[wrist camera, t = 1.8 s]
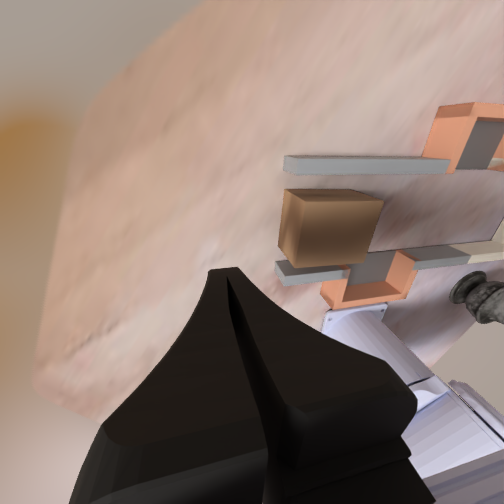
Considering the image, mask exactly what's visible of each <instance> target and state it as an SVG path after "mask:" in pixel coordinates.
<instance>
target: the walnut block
mask: <svg viewBox="0 0 504 504" xmlns="http://www.w3.org/2000/svg"><path fill="white" fill-rule="evenodd" d="M383 204H384V201H383V200H380V199H377V198H374V197H371V196H368V195H365V194H362V193H360V192H357V191H354V190H351V189H284V198H283V206H282V215H281V224H280V232H279V241H278V247H279V248H280V249H281V251H282V252H283V253H284V255H285V256H286V257H287V259H288V260H289V261H290V263H291V264H292V265H293V267H294V268H305V267H317V266H330V265H342V264H354V263H364V261H365V258H366V255H367V252H368V249H369V246H370V243H371V240H372V237H373V234H374V231H375V228H376V225H377V222H378V219H379V216H380V213H381V210H382V207H383Z"/></svg>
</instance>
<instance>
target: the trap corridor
mask: <svg viewBox="0 0 504 504" xmlns="http://www.w3.org/2000/svg"><path fill="white" fill-rule="evenodd" d="M455 169H488V170H497V171H504V104H491V103H478V102H473V103H464V104H456V105H448V106H440V107H439V109H438V112H437V114H436V117H435V120H434V123H433V126H432V129H431V131H430V134H429V137H428V140H427V143H426V146H425V148H424V151H423V154H422V157H368V156H284V166H283V170H284V171H287V172H289V173H292V174H294V175H362V174H453V173H454V171H455ZM503 259H504V219H503V221H502V222H501V224H500V226H499V227H498V229H497V231H496V233H495V234H494V236H493V238H492V239H491V241H483V242H473V243H462V244H452V245H442V246H431V247H421V248H411V249H400V250H390V251H380V252H369V253H367V255H366V258H365V261H364V263H354V264H342V265H330V266H317V267H305V268H294V267H293V265H292V264H291V263H290V261H289V260H287V261H276V262H275V272H276V274H277V275H278V277H279V279H280V281H281V282H282V284H283V286H291V285H299V284H307V283H315V282H323V283H322V287H321V292H320V294H321V296H322V297H323V298H324V299H325V301H326V302H327V303H328V305H329V306H330V307H331V308H332V310H335V309H341V308H348V307H354V306H361V305H367V304H374V303H380V302H387V301H393V300H400V299H406V297H407V294H408V292H409V290H410V288H411V285H412V283H413V281H414V279H415V276H416V274H417V272H418V270H421V269H429V268H437V267H446V266H454V265H462V264H470V263H478V262H486V261H495V260H503Z"/></svg>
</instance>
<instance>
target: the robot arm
mask: <svg viewBox="0 0 504 504" xmlns="http://www.w3.org/2000/svg"><path fill="white" fill-rule="evenodd" d="M386 308H387V304H386V303H384V302H382V303H375V304H369V305H362V306H356V307H349V308H343V309H336V310H330V311H328V312H327V313H326V315H325V319H324V324H323V328H322V332H319V331H317V330H315V329H313V328H312V327H310V326H308V325H306V324H305V323H303V322H301V321H300V320H298V319H296V318H295V317H293V316H292V315H290V314H289V313H288V312H286V311H285V310H283V309H282V308H280V307H279V306H278V305H276V304H275V303H274V302H273V301H272V300H270V299H269V298H268V297H267V296H266V295H265V294H264V293H262V292H261V291H260V290H259V289H258V288H257V287H256V286H255V285H254V284H253V283H252V282H251V281H250V280H249V279H248V278H247V277H246V275H245V274H244V273H243V272H242V271H241V270H240V269H239V268H238V267H231V268H221V269H211V270H209V271H208V277H207V281H206V284H205V287H204V290H203V292H202V295H201V297H200V300H199V302H198V304H197V306H196V308H195V310H194V312H193V314H192V316H191V317H190V319H189V321H188V322H187V324H186V326H185V327H184V329H183V330H182V332H181V334H180V335H179V336H178V338H177V339H176V341H175V342H174V344H173V345H172V346H171V348H170V349H169V350H168V352H167V353H166V354H165V356H164V357H163V358H162V359H161V361H160V362H159V363H158V364H157V365H156V366H155V368H154V369H153V370H152V371H151V372H150V374H149V375H148V376H147V377H146V378H145V380H144V381H143V382H142V383H141V384H140V385H139V386H138V387H137V388H136V390H135V391H134V392H133V393H132V394H131V395H130V396H129V397H128V398H127V399H126V400H125V401H124V402H123V403H122V404H121V405H120V406H119V407H118V408H117V409H116V410H115V411H114V412H113V413H112V414H111V415H110V416H109V417H108V418H107V419H106V420H105V421H104V422H103V423H102V425H101V427H100V428H99V430H98V433H97V434H96V437H95V439H94V441H93V443H92V445H91V447H90V450H89V452H88V454H87V456H86V459H85V461H84V463H83V465H82V467H81V470H80V472H79V475H78V478H77V481H76V484H75V486H74V489H73V492H72V495H71V498H70V501H69V504H262V503H263V504H504V416H503V415H502V414H501V413H499V412H498V411H497V410H496V409H495V408H494V407H493V406H492V405H491V404H489V403H488V402H487V401H486V400H485V399H484V398H483V397H481V395H479V394H478V393H477V392H476V391H475V390H474V389H472V388H471V387H470V386H469V385H468V384H466V383H463V382H457V381H455V380H451V381H450V382H449V383H448V384H449V385H450V386H451V387H452V388H453V389H454V390H455V391H456V392H457V393H458V394H459V396H460V397H461V398H462V399H463V400H464V401H465V402H466V403H467V404H468V405H469V406H470V407H471V408H472V409H473V410H474V411H473V410H472V409H471V408H470V407H469V406H468V405H467V404H466V403H465V402H464V401H463V400H462V399H461V398H459V396H458V395H457V394H456V393H455V392H454V391H453V390H452V389H451V388H450V387H449V386H447V385H446V384H445V383H444V382H443V381H442V380H441V379H440V378H439V377H438V376H437V375H435V374H434V373H433V372H432V371H431V370H430V369H429V368H428V367H427V366H426V365H425V364H424V363H423V362H422V361H421V360H420V359H419V358H418V357H417V356H416V355H415V354H414V353H413V352H412V351H411V350H410V349H409V348H408V347H407V346H406V345H405V344H404V343H403V342H402V341H401V340H400V339H399V338H398V337H397V336H396V335H395V334H394V333H393V332H392V331H391V330H390V329H389V328H388V327H387V326H386V325H385V324H384V323H383V322H382V318H383V316H384V313H385V311H386Z"/></svg>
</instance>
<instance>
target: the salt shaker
mask: <svg viewBox="0 0 504 504" xmlns="http://www.w3.org/2000/svg"><path fill="white" fill-rule="evenodd" d="M449 298H450V301H451V302H452V303H454V304H460V303H466V308H467V309H468V311H469V312H470V313H471V314H472V316H474V317H475V318H476V321H477V322H478V323H481V324H487V323H490V322H493V321H497V322H499V323H502V324H504V283H503V282H497V281H492V282H486V274H485V273H484V272H482V271H475V272H472V273H470V274H468V275H466V276H465V277H463V278H462V279H461V280H460V281H458V283H457V284H456V285H455V286H454V287H453V289H452V291H451V293H450V296H449Z"/></svg>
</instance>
